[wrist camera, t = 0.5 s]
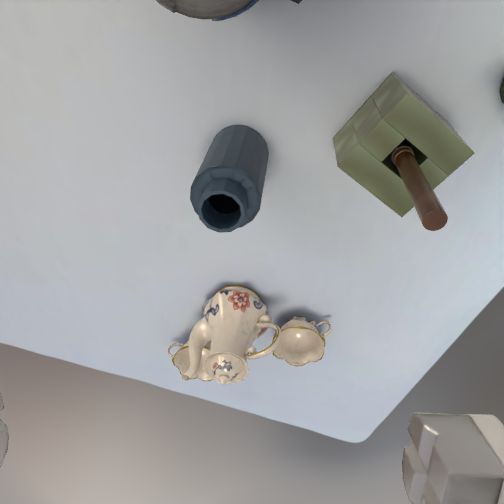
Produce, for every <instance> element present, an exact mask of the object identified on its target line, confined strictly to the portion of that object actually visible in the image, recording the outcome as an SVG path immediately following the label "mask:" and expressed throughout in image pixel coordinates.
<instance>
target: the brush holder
mask: <svg viewBox="0 0 504 504" xmlns="http://www.w3.org/2000/svg"><path fill="white" fill-rule="evenodd" d="M405 138H406V139H407V141H408V142H409V144H410V146H411V148H412V149H413V151H414V157H415V159H416V161H417V162H418V164H419V166H420V168H421V170H422V171H423V173H424V175H425V177H426V179H427V180H428V182H429V184H430V186H431V187H432V189H434V188H435V187H437V186H438V185H439V184H440V183H441V182H442V181H443V180H445V179H446V178H447V177H448V176H449V175H450V174H451V173H453V172H454V171H455V170H456V169H457V168H458V167H459V166H460V165H462V164H463V163H464V162H465V161H466V160H467V159H468V158H470V157H471V156H472V155H473V154H474V152H473V151H472V149H471V148H470V147H469V146H468V145H467V144H466V143H465V141H464V140H463V139H462V138H461V137H460V136H459V135H458V133H457V132H456V131H455V130H454V129H453V128H452V127H451V125H449V124H448V123H447V122H446V121H445V120H444V119H443V118H442V117H441V116H440V115H439V114H437V113H436V112H435V111H434V110H433V109H432V108H431V107H430V106H429V105H428V104H426V103H425V102H424V101H423V100H422V99H421V98H420V97H419V96H418V95H417V94H415V93H414V92H413V91H412V90H411V89H410V88H409V87H408V86H407V85H406V84H404V83H403V82H402V81H401V80H400V79H399V78H398V77H397V76H396V75H395V74H394V73H391V74H390V76H389V77H388V78H387V79H386V80H385V81H384V82H383V83H382V84H381V85H380V87H379V88H378V89H377V90H376V91H375V92H374V93H373V94H372V96H371V97H370V98H369V99H368V100H367V101H366V102H365V103H364V104H363V105H362V107H361V108H360V109H359V110H358V111H357V112H356V113H355V114H354V115H353V117H352V118H351V119H350V120H349V121H348V122H347V123H346V124H345V125H344V127H343V128H342V129H341V130H340V131H339V132H338V133H337V134H336V135H335V137H334V138H333V142H334V148H335V153H336V159H337V165H338V167H339V168H340V169H341V170H343V171H344V172H345V173H347V174H348V175H349V176H350V177H352V178H353V179H354V180H355V181H357V182H358V183H359V184H360V185H362V186H363V187H364V188H365V189H367V190H368V191H369V192H371V193H372V194H373V195H374V196H376V197H377V198H378V199H379V200H381V201H382V202H383V203H384V204H386V205H387V206H388V207H389V208H391V209H392V210H393V211H395V212H396V213H397V214H398V215H400V216H401V217H403V216H404V215H405V214H406V213H407V212H408V211H409V210H411V209H412V208H413V207H414V204H413V202H412V200H411V198H410V195H409V193H408V191H407V189H406V187H405V184H404V182H403V180H402V178H401V175H400V173H399V171H398V169H397V166H396V165H395V164H393V162H392V160H391V158H390V155H389V154H390V153H391V152H392V151H393V150H394V149H395V148H396V147H397V146H398V145H399V144H400V143H401V142H402V141H403V140H404V139H405Z"/></svg>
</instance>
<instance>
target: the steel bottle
mask: <svg viewBox="0 0 504 504" xmlns="http://www.w3.org/2000/svg"><path fill="white" fill-rule="evenodd" d="M267 161H268V148H267V145H266V142H265V140H264V139H263V137H262V136H261V135H260V134H259V133H258V132H257V131H255V130H254V129H252V128H250V127H247V126H243V125H234V126H229V127H227V128H225V129H223V130H221V131H220V132H219V133H218V134H217V135H216V136H215V138H214V140H213V142H212V144H211V146H210V148H209V150H208V152H207V154H206V156H205V158H204V160H203V163H202V165H201V167H200V169H199V171H198V173H197V175H196V177H195V179H194V181H193V184H192V186H191V195H190V200H191V203H192V205H193V208H194V210H195V212H196V213H197V214H198V215H199V218H200V220H201V221H202V222H203V223H204V224H205V225H206V227H207V228H209V229H212V230H214V231H217V232H231V231H233V230H235V229H236V228H239V227H243V226H244V225H246V224H247V223H249V222H251V221H252V220H253V219H254V217H255V216H256V214H257V213H258V211H259V210H260V204H261V198H262V192H263V186H264V180H265V174H266V168H267Z"/></svg>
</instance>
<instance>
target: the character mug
mask: <svg viewBox="0 0 504 504" xmlns="http://www.w3.org/2000/svg"><path fill="white" fill-rule="evenodd" d="M500 93H501V99H502V102H503V103H504V81H503V83H502V86H501V89H500Z"/></svg>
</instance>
